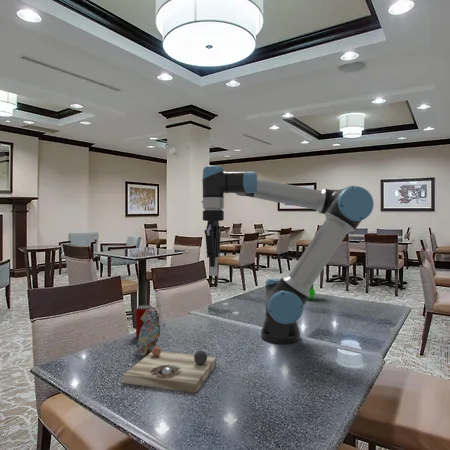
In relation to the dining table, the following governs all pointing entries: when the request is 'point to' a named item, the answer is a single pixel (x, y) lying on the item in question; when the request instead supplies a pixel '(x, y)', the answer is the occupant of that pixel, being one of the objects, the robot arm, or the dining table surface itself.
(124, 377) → the board
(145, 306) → the beverage can
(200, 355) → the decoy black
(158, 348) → the pink rubber ball
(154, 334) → the figurine
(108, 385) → the dining table surface
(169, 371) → the steel ball
